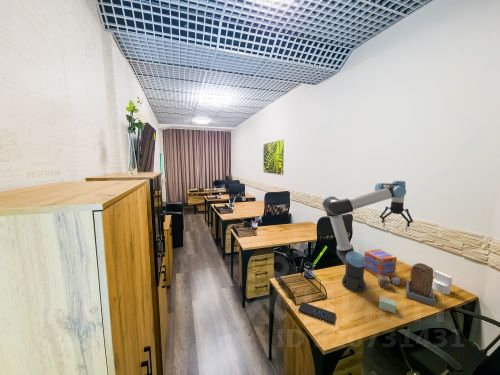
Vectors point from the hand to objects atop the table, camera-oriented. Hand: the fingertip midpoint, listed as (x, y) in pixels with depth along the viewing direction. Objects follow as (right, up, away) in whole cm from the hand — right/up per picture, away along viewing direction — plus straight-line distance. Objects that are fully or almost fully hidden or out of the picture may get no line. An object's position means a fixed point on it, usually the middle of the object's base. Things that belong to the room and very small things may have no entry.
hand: (394, 229), depth 150 cm
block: (+5, -40, -16) cm, 43 cm away
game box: (-4, -38, +12) cm, 40 cm away
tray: (+5, -41, -16) cm, 44 cm away
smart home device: (-70, -44, -33) cm, 89 cm away
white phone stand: (+24, -41, -11) cm, 49 cm away
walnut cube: (-12, -40, -6) cm, 42 cm away
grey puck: (-2, -39, -4) cm, 39 cm away
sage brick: (-26, -43, -28) cm, 57 cm away
